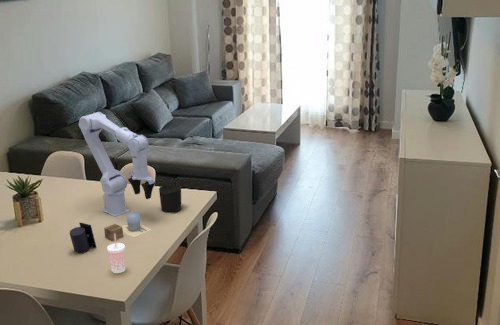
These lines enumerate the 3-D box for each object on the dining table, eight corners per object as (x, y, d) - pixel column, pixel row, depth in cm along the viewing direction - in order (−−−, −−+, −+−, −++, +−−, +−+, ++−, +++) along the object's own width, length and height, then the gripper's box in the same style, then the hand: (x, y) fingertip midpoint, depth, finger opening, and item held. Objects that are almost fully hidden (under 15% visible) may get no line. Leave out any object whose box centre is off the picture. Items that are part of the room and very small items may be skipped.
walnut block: (105, 238, 216) (104, 227, 215) (116, 233, 220) (114, 223, 218) (112, 242, 213) (111, 231, 212) (123, 237, 217) (122, 227, 215)
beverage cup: (126, 273, 190) (122, 237, 185) (108, 274, 190) (104, 238, 185) (128, 264, 196) (124, 229, 191) (111, 265, 195) (107, 230, 191)
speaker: (89, 242, 212) (84, 219, 208) (96, 248, 208) (92, 224, 204) (71, 250, 208) (65, 227, 203) (78, 256, 204) (73, 232, 199)
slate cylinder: (125, 229, 223) (124, 215, 221) (135, 225, 226) (133, 211, 224) (133, 232, 220) (132, 218, 218) (143, 228, 223) (142, 214, 221)
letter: (115, 229, 224) (115, 228, 224) (134, 221, 230) (133, 221, 230) (133, 237, 216) (133, 237, 216) (151, 230, 222) (151, 229, 222)
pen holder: (164, 215, 236) (162, 193, 232) (158, 207, 244) (156, 186, 240) (185, 211, 239) (183, 190, 236) (178, 203, 247) (177, 182, 244)
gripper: (121, 163, 227) (124, 194, 231) (142, 171, 217) (145, 203, 222) (136, 159, 232) (138, 189, 236) (157, 167, 222) (159, 198, 226)
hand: (142, 196), depth 229 cm, fingers open, 7 cm apart
